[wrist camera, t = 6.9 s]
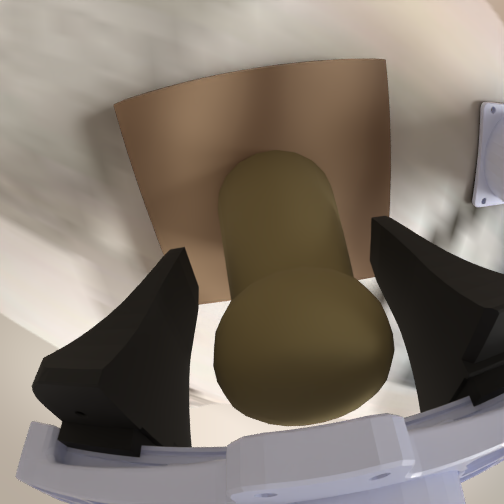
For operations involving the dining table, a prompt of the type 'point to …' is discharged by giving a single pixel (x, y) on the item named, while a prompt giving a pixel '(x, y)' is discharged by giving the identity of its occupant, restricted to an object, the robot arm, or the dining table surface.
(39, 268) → the dining table surface
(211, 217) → the tan square board
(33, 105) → the dining table surface
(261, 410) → the olive bulb-shaped piece
